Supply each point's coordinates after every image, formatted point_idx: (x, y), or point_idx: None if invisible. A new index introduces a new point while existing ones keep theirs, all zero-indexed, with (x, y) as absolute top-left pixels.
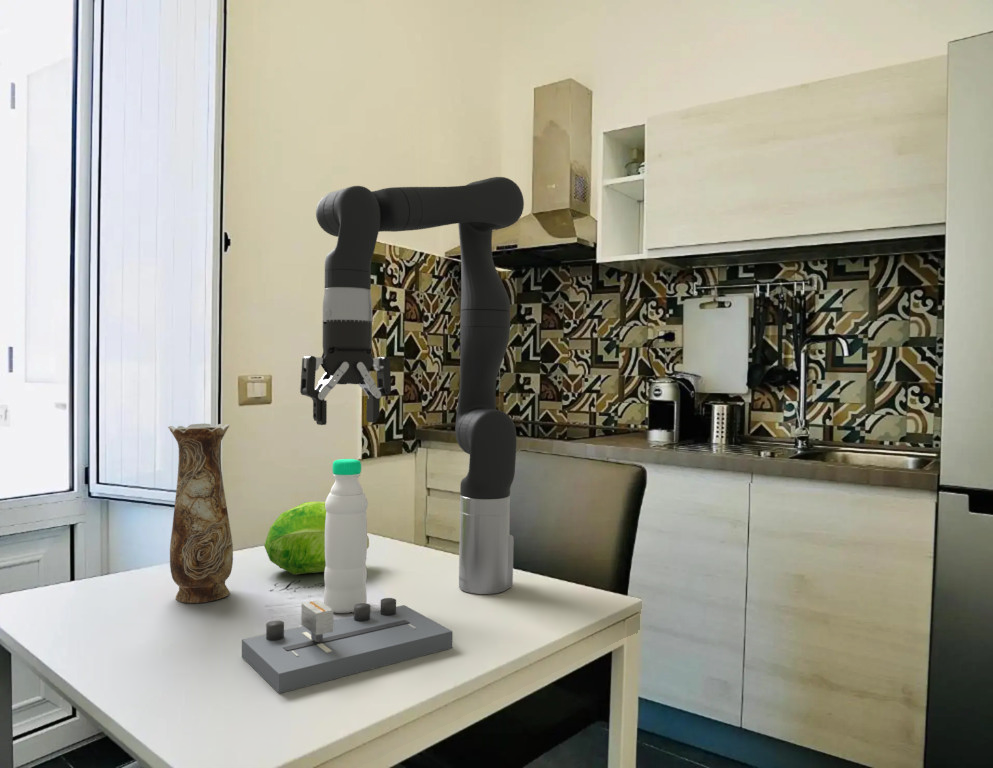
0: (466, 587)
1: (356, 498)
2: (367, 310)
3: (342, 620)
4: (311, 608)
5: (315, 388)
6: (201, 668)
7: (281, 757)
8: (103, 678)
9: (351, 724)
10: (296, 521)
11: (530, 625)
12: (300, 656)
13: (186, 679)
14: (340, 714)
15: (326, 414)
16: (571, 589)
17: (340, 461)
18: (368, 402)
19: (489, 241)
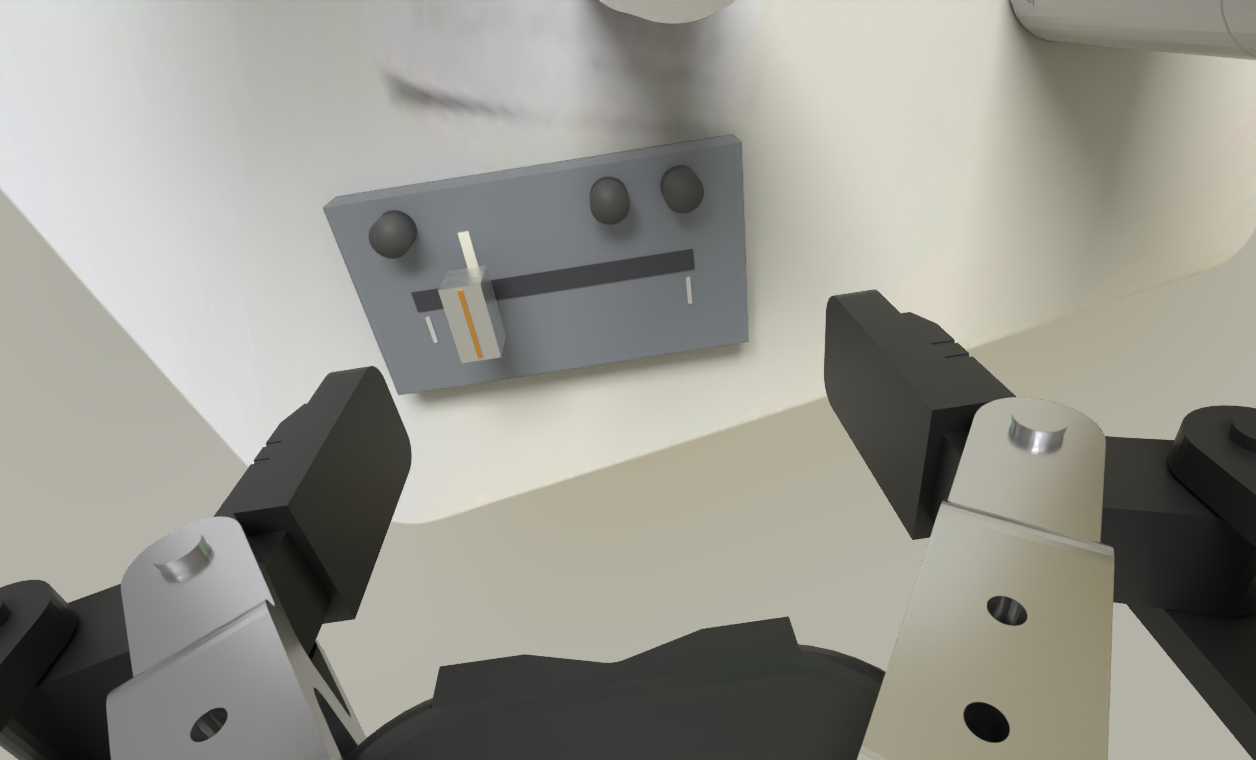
0: None
1: (702, 4)
2: None
3: (562, 186)
4: (456, 331)
5: (129, 636)
6: (256, 220)
7: (402, 521)
8: (54, 187)
9: (496, 488)
10: None
11: (943, 285)
12: (441, 343)
13: (236, 261)
14: (487, 462)
15: (393, 511)
16: (1240, 102)
17: None
18: (903, 426)
19: None
